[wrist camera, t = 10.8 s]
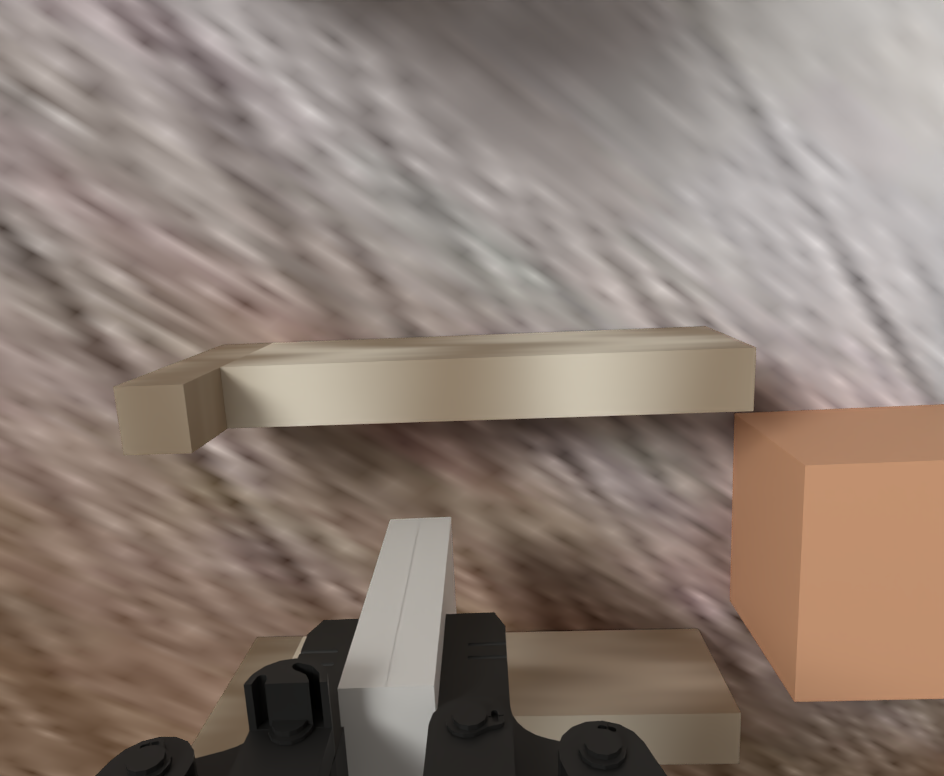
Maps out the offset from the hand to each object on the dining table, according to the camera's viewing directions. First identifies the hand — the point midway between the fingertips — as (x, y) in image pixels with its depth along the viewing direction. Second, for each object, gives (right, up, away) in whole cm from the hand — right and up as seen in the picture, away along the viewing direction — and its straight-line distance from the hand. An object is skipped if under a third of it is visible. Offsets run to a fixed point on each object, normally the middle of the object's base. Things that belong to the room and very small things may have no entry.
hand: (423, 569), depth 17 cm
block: (+12, +1, +4) cm, 13 cm away
